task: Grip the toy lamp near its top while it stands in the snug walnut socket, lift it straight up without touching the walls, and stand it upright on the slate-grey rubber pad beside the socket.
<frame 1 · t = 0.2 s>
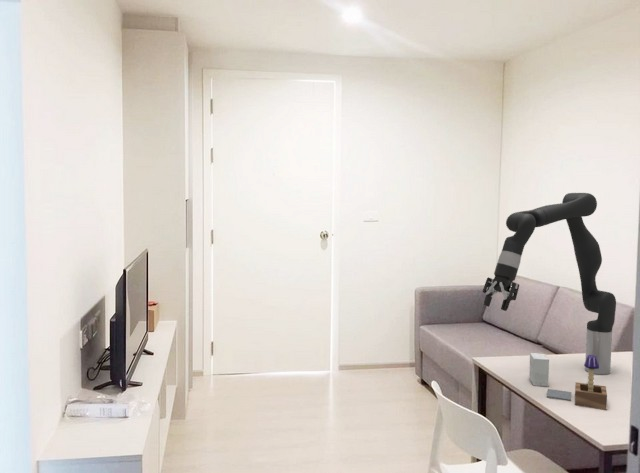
hand: (494, 308, 196), 31 cm above the table, tool tilted 20°, fingers open, 8 cm apart
slate pad: (559, 395, 195), on the table
small box: (538, 383, 209), on the table
lamp socket: (590, 402, 189), on the table
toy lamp: (590, 403, 189), resting in lamp socket
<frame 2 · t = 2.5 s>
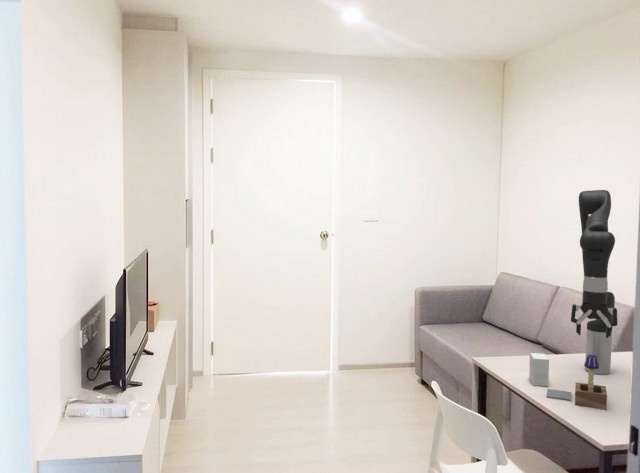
hand: (593, 336, 187), 24 cm above the table, tool pointing down, fingers open, 8 cm apart
nothing on the table moved.
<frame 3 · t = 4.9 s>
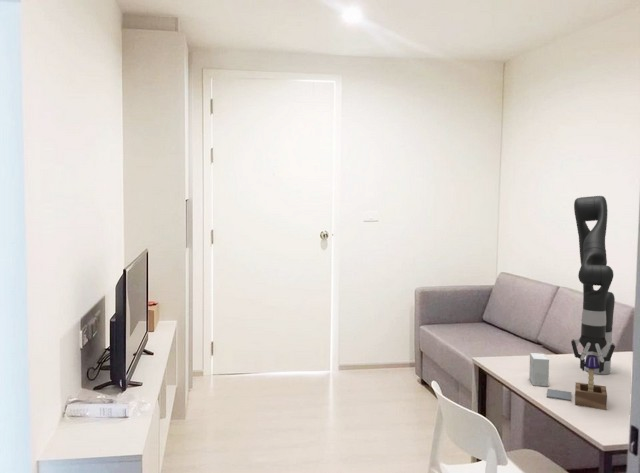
hand: (591, 370, 188), 11 cm above the table, tool pointing down, fingers closed on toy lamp, 4 cm apart
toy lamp: (590, 403, 189), resting in lamp socket, touching gripper
everything else where it was.
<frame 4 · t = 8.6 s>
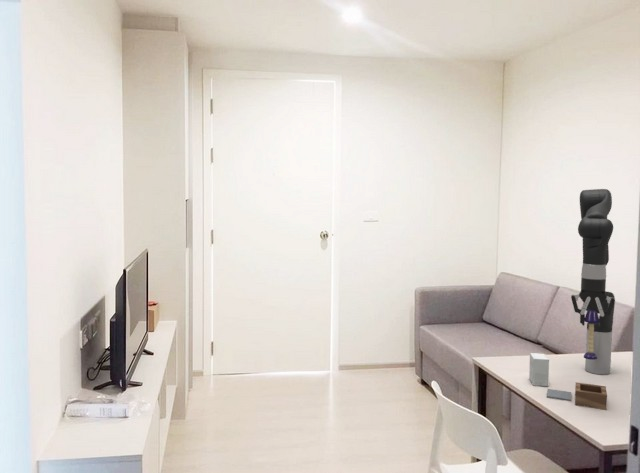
hand: (591, 325, 187), 27 cm above the table, tool pointing down, fingers closed on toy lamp, 4 cm apart
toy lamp: (590, 358, 188), point 16 cm above the table, touching gripper
everything else where it was.
when the fingers open (13 cm above the table, at t = 12.5 s): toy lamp stays where it is, resting on slate pad.
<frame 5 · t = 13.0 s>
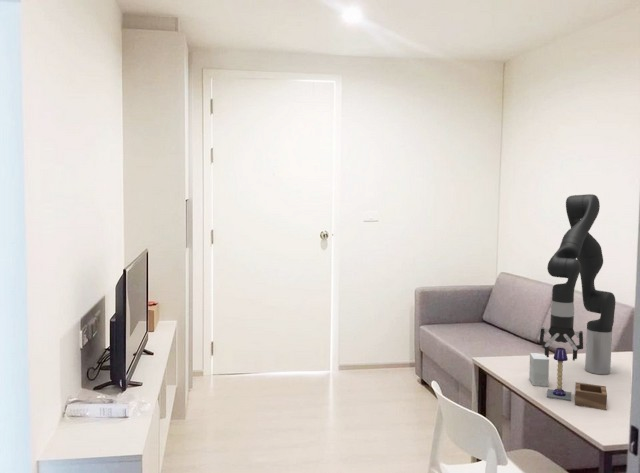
hand: (560, 358, 194), 14 cm above the table, tool pointing down, fingers open, 8 cm apart
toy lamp: (559, 394, 195), resting on slate pad
everything else where it was.
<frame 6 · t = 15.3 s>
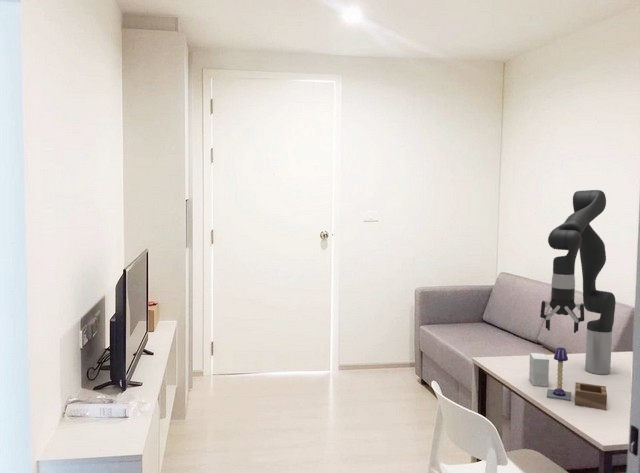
hand: (561, 331, 193), 24 cm above the table, tool pointing down, fingers open, 8 cm apart
nothing on the table moved.
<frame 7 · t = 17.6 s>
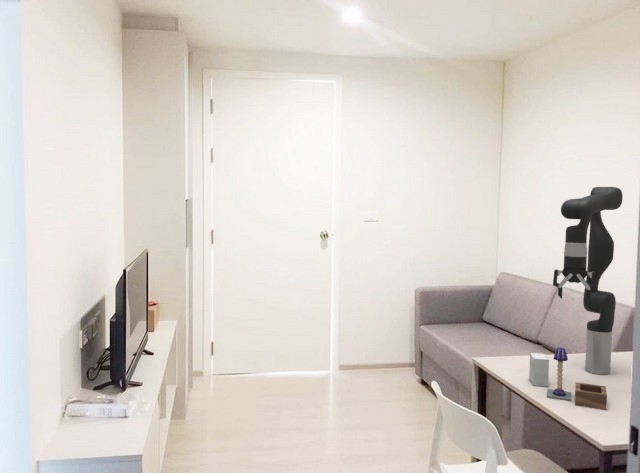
hand: (573, 298, 199), 34 cm above the table, tool pointing down, fingers open, 8 cm apart
nothing on the table moved.
at the end: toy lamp 0.1 cm off-centre on the slate pad, point 0.4 cm above the slate pad's base; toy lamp tilted 0°; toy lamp touching slate pad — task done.
